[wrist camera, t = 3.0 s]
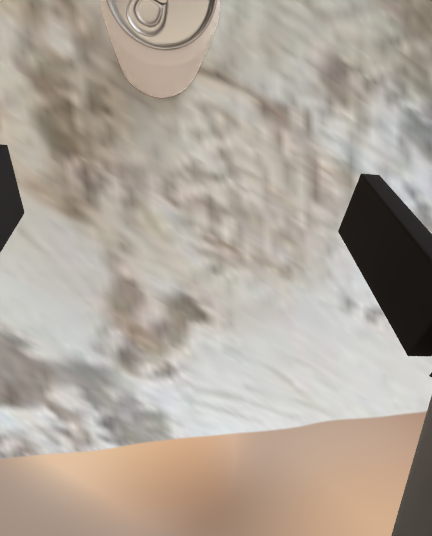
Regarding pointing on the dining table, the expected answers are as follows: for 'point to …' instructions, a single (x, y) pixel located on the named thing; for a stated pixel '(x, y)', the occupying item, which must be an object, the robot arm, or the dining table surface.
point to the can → (160, 40)
